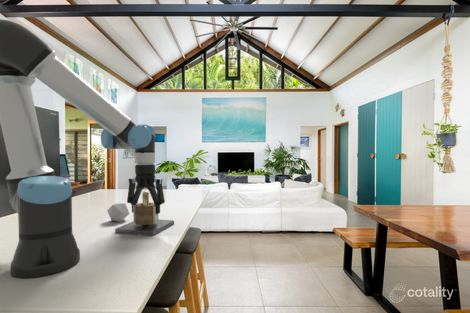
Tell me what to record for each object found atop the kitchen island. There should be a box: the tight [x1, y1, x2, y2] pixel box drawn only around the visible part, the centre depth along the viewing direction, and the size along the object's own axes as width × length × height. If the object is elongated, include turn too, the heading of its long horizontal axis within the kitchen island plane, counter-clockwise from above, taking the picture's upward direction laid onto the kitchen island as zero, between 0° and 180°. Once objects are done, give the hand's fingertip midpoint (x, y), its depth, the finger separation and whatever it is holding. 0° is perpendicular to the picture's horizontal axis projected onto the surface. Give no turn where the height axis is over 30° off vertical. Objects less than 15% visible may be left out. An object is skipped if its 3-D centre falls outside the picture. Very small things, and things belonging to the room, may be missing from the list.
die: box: [107, 202, 130, 223], centre depth 118 cm, size 8×9×10 cm
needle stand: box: [114, 190, 175, 236], centre depth 105 cm, size 16×16×15 cm
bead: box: [133, 201, 155, 225], centre depth 105 cm, size 8×8×7 cm
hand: (146, 221), depth 106 cm, fingers closed on bead, 8 cm apart
